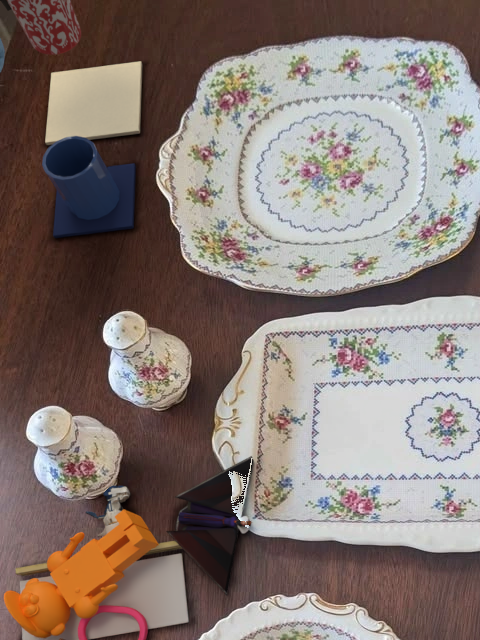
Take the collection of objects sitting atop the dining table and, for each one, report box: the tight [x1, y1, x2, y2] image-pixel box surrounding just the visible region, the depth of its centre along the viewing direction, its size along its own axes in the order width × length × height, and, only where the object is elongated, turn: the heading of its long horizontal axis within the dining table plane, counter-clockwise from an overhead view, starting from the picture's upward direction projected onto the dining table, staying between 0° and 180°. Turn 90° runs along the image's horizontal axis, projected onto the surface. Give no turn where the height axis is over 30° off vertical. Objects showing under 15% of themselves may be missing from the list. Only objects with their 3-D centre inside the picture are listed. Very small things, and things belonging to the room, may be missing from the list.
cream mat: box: [44, 60, 143, 146], centre depth 127 cm, size 15×15×1 cm
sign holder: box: [15, 540, 190, 640], centre depth 96 cm, size 21×2×10 cm
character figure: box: [165, 455, 255, 596], centre depth 98 cm, size 18×3×10 cm
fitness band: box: [78, 605, 149, 640], centre depth 94 cm, size 8×6×2 cm
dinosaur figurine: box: [85, 484, 131, 537], centre depth 99 cm, size 5×4×10 cm
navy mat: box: [52, 162, 137, 239], centre depth 120 cm, size 12×12×1 cm
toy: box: [3, 508, 159, 638], centre depth 93 cm, size 9×18×8 cm, turn 126°
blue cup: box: [41, 136, 120, 220], centre depth 116 cm, size 8×8×9 cm
